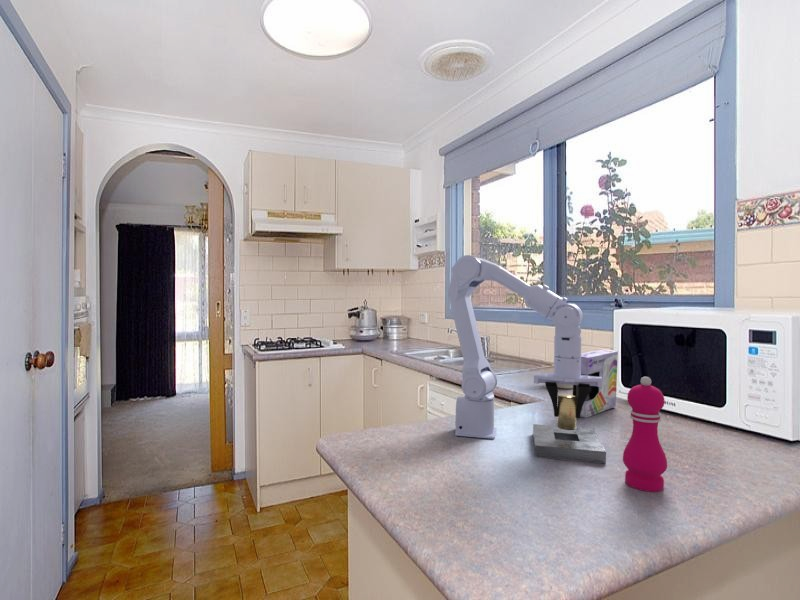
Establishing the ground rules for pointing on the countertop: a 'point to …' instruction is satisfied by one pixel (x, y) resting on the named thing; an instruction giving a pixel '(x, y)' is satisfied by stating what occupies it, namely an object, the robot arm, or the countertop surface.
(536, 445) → the plate
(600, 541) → the countertop surface
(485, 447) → the countertop surface
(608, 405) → the cake pan box
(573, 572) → the countertop surface
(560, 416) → the brass cylinder
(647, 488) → the pepper mill
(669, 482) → the countertop surface
